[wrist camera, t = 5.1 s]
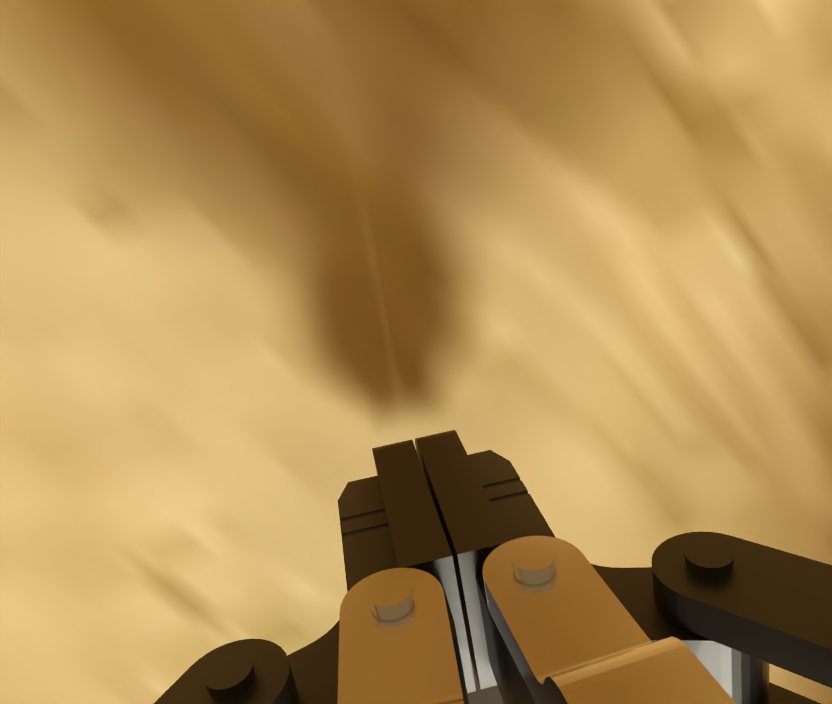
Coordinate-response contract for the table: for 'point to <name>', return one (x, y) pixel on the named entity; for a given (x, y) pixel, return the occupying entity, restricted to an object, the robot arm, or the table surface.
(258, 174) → the table surface
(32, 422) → the table surface
